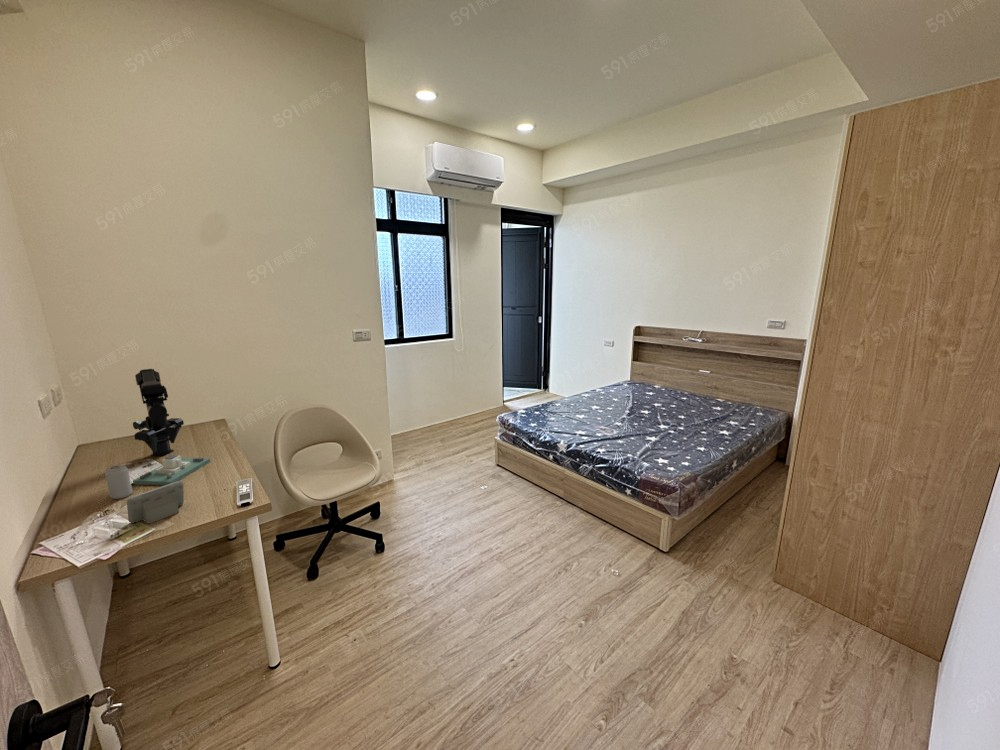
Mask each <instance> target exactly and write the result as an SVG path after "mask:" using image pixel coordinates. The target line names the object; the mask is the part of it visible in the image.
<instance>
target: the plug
mask: <svg viewBox="0 0 1000 750" xmlns="http://www.w3.org/2000/svg"><path fill="white" fill-rule="evenodd" d="M181 458H182V456H181V455H179V454H178V455H177V454H175V455H174V454H173V455H172V454H170V455H168V456H167V457H164V458H163V459H161V462H162V465H163V467H164V469H176V468H178V467H180V469H182V468H183V466H182V460H181Z"/></svg>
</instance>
